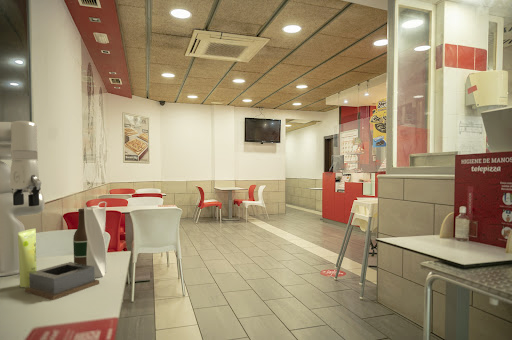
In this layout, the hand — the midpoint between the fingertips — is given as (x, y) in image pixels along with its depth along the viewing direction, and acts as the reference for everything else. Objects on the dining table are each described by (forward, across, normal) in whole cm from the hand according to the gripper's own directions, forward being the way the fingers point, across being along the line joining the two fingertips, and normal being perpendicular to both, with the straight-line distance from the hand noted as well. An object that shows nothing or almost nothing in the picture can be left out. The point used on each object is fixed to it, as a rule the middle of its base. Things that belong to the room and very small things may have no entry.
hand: (26, 205), depth 116 cm
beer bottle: (+28, -4, +24) cm, 37 cm away
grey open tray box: (+28, +14, +4) cm, 32 cm away
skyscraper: (+28, +13, +18) cm, 36 cm away
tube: (+28, 0, 0) cm, 28 cm away
